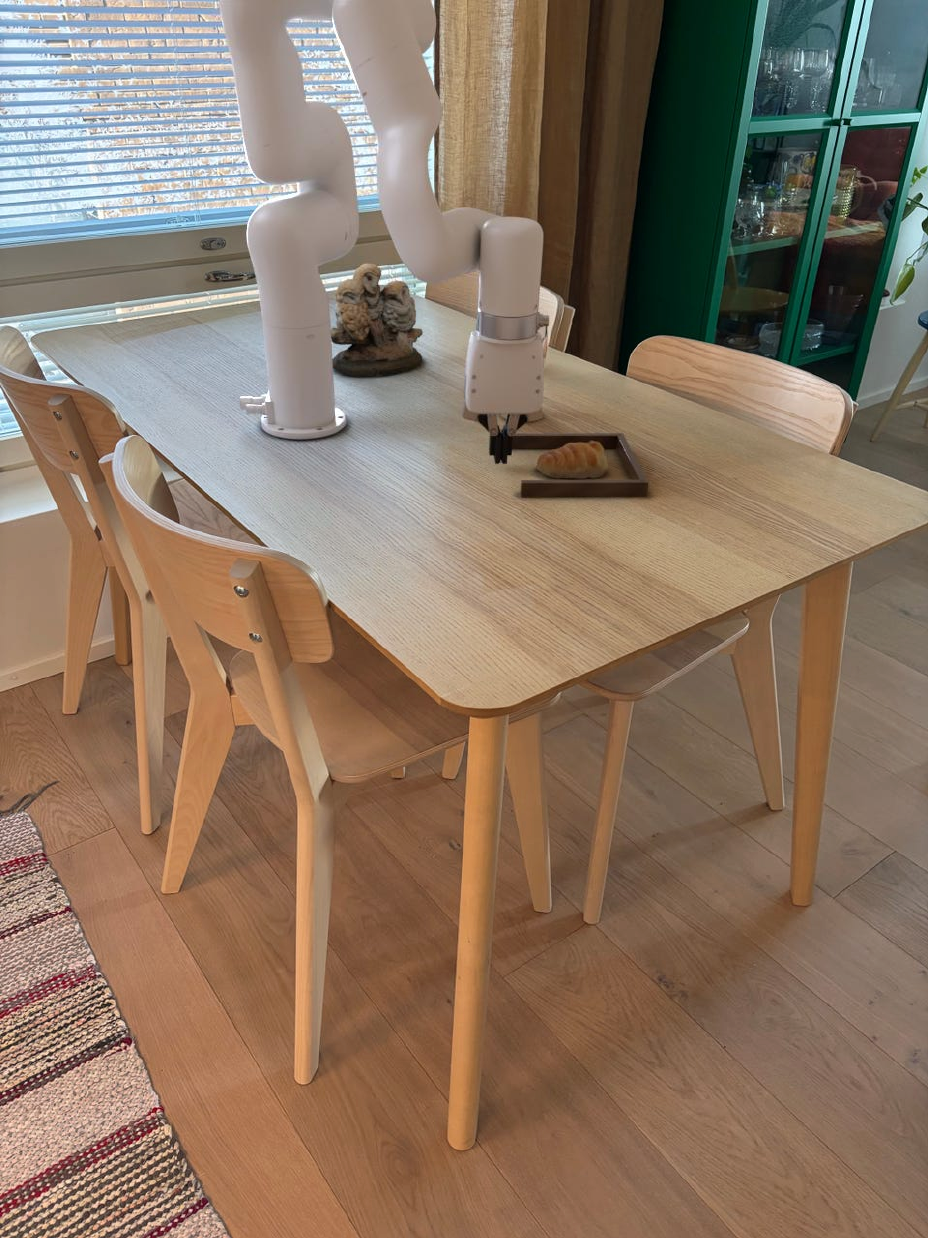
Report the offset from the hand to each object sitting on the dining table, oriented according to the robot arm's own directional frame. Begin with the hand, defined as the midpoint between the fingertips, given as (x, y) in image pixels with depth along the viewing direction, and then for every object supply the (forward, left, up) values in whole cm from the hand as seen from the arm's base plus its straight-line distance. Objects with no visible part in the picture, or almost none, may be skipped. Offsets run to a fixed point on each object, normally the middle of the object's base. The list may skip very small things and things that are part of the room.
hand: (499, 459), depth 130 cm
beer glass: (+5, +21, -2) cm, 21 cm away
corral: (+10, 0, -2) cm, 10 cm away
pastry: (+10, -1, -2) cm, 10 cm away
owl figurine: (-18, +45, -2) cm, 48 cm away
